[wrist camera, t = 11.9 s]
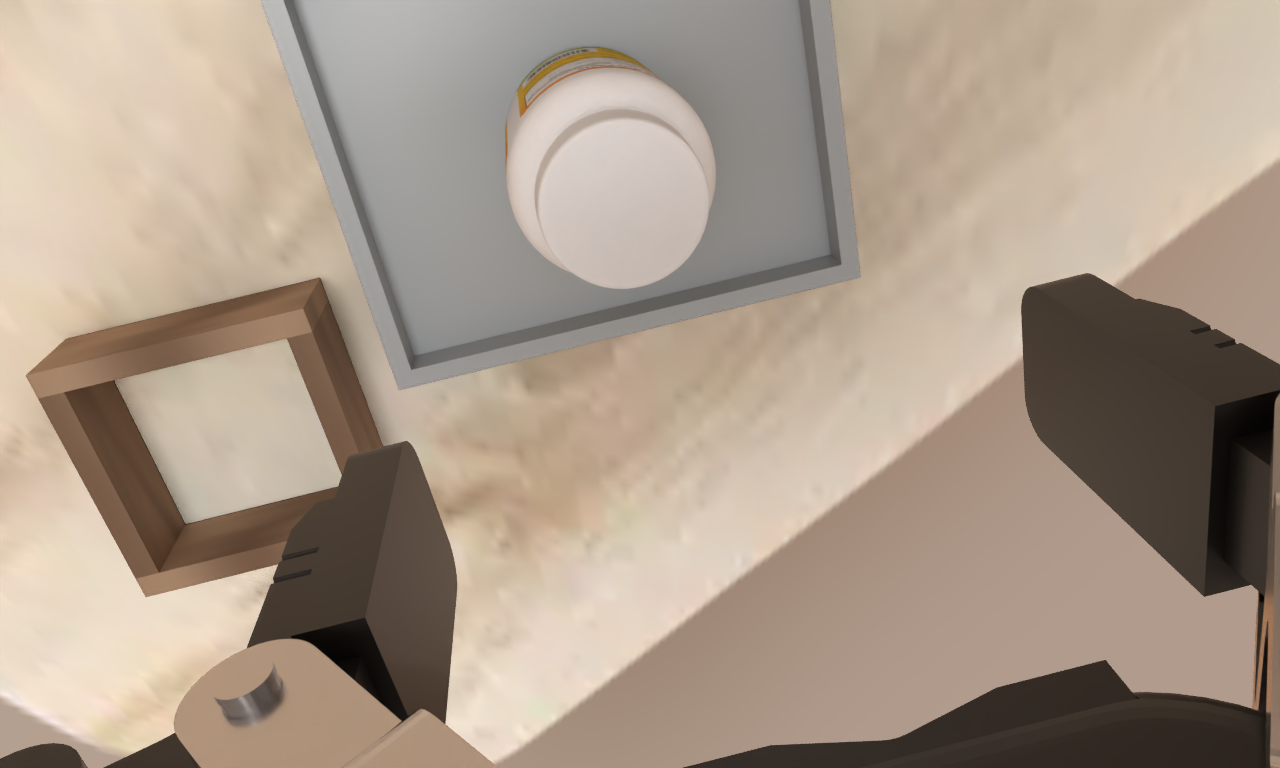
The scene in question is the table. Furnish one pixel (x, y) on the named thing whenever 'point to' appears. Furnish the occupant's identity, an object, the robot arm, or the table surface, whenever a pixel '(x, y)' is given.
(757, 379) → the table surface
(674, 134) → the supplement bottle
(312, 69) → the tray
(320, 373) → the holder
